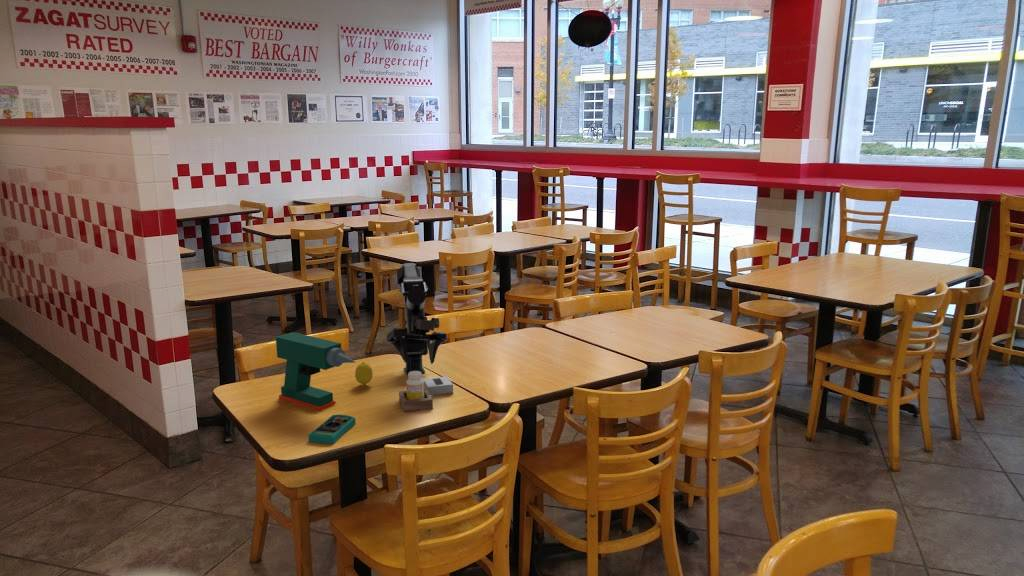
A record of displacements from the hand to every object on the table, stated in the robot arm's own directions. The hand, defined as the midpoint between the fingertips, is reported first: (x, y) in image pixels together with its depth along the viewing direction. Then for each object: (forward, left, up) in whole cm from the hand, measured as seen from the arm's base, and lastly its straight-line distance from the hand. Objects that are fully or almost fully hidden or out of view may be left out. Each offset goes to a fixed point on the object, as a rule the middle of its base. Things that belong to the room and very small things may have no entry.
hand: (419, 362), depth 225 cm
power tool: (+1, -30, -11) cm, 32 cm away
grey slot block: (-1, +6, -10) cm, 12 cm away
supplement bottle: (+8, -3, -10) cm, 13 cm away
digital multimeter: (+22, -28, -11) cm, 38 cm away
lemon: (-13, -16, -11) cm, 23 cm away
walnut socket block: (+9, -3, -10) cm, 14 cm away
